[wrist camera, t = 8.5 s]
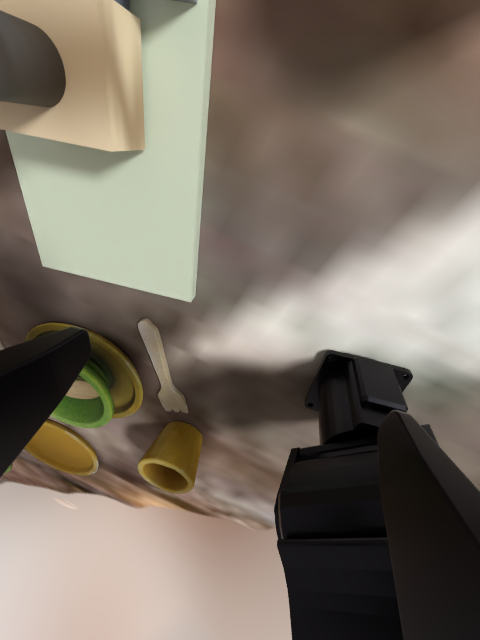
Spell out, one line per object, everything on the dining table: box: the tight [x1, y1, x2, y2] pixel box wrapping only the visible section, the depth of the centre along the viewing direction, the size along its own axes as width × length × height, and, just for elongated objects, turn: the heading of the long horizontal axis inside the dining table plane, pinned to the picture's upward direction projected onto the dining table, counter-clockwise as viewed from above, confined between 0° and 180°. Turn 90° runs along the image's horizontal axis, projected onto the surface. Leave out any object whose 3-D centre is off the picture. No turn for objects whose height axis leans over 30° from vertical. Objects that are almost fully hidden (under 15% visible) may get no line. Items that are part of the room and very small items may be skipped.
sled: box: [0, 0, 145, 152], centre depth 10 cm, size 6×6×8 cm
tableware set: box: [0, 318, 203, 494], centre depth 33 cm, size 41×28×6 cm
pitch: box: [5, 0, 216, 302], centre depth 13 cm, size 22×12×6 cm, turn 171°
